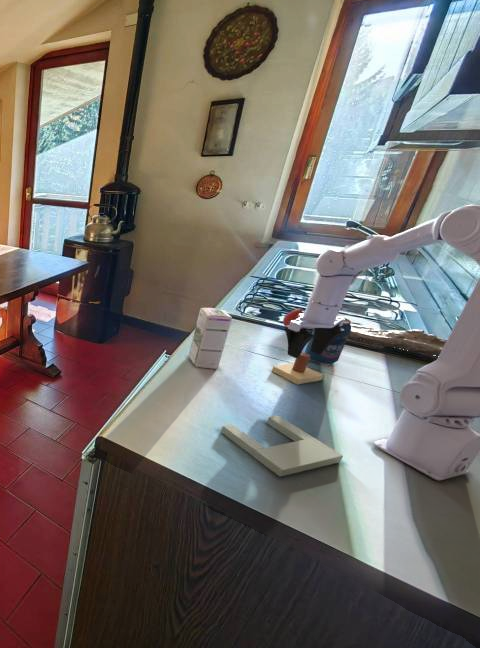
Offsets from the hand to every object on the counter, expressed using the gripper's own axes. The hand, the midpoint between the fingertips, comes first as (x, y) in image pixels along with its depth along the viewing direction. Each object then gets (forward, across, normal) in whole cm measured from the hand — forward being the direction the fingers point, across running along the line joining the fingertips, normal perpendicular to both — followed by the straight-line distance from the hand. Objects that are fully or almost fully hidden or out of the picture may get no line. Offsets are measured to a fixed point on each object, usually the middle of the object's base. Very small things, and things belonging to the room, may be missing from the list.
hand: (304, 354), depth 95 cm
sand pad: (+6, 0, 0) cm, 6 cm away
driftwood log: (+6, -44, -9) cm, 45 cm away
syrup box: (+6, +18, -11) cm, 22 cm away
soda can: (+6, -15, -5) cm, 17 cm away
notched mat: (+6, +30, +19) cm, 36 cm away
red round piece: (+6, -26, -21) cm, 34 cm away
